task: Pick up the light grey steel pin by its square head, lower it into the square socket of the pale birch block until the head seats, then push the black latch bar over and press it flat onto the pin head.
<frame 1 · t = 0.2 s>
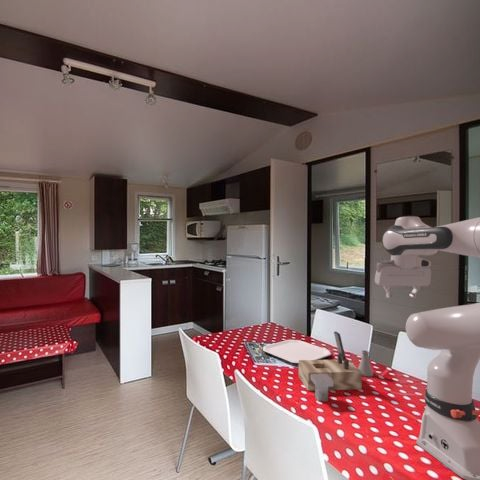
hand: (400, 297, 117), 39 cm above the table, tool pointing down, fingers open, 8 cm apart
plate: (296, 354, 165), on the table
flask: (364, 374, 142), on the table
socket block: (328, 382, 132), on the table
steel pin: (321, 398, 118), on the table
latch bar: (339, 346, 132), point 15 cm above the table, hinge at 75.0°
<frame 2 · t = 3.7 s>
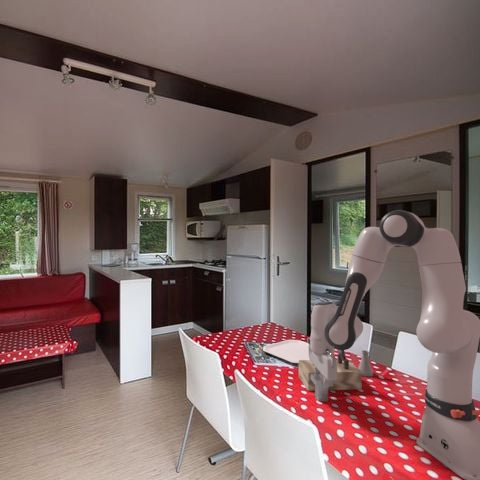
hand: (321, 382, 118), 6 cm above the table, tool pointing down, fingers closed on steel pin, 6 cm apart
steel pin: (321, 398, 118), on the table, touching gripper
everything else where it was.
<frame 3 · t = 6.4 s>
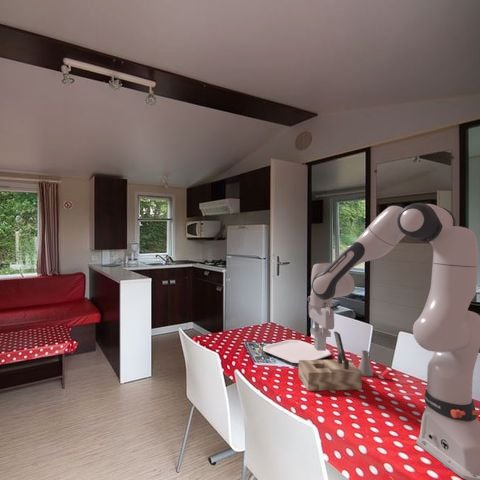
hand: (320, 334, 131), 20 cm above the table, tool pointing down, fingers closed on steel pin, 6 cm apart
steel pin: (319, 349, 131), point 14 cm above the table, touching gripper
everything else where it was.
when the fingers open (8 cm above the table, at t = 9.2 s): steel pin stays where it is, resting on socket block.
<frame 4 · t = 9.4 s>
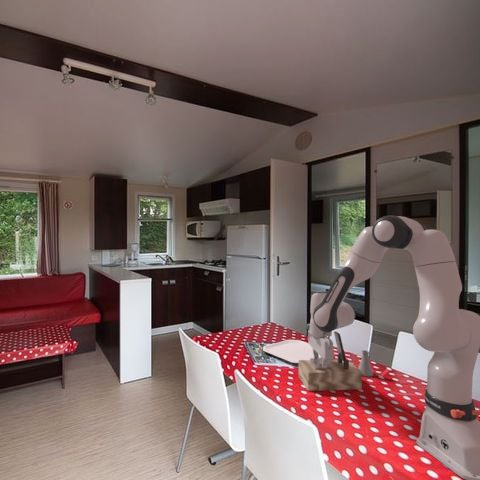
hand: (319, 363, 131), 8 cm above the table, tool pointing down, fingers open, 8 cm apart
steel pin: (319, 380, 131), point 1 cm above the table, touching socket block
everything else where it was.
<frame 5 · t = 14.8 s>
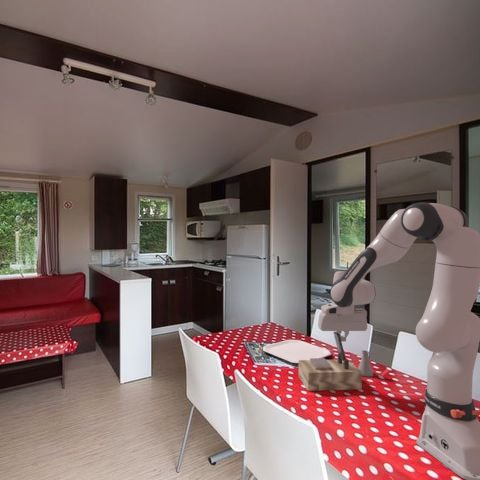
hand: (342, 341, 133), 17 cm above the table, tool pointing down, fingers closed
latch bar: (339, 346, 132), point 15 cm above the table, hinge at 74.0°, touching gripper
everything else where it was.
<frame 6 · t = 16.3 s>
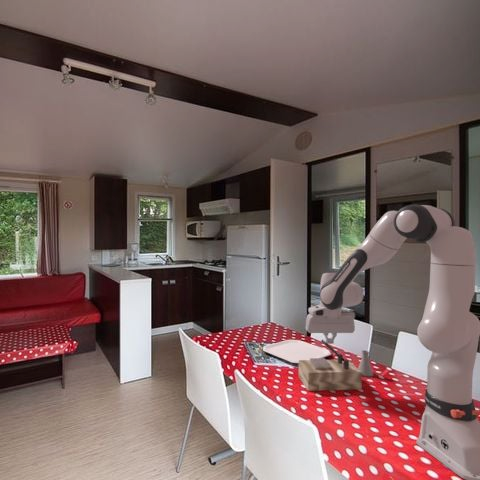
hand: (329, 343, 132), 16 cm above the table, tool pointing down, fingers closed
latch bar: (333, 350, 132), point 13 cm above the table, hinge at 40.7°, touching gripper
everything else where it was.
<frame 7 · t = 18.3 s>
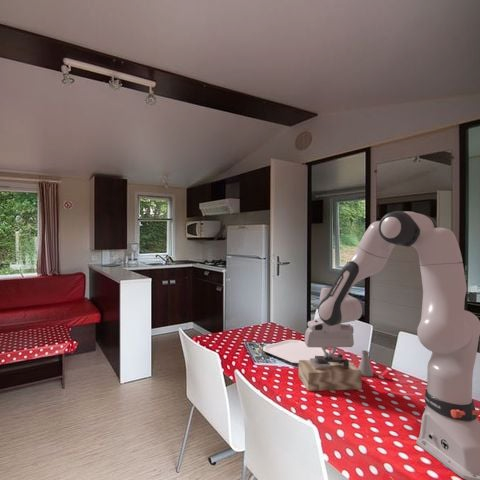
hand: (328, 357, 132), 10 cm above the table, tool pointing down, fingers closed
latch bar: (329, 359, 132), point 10 cm above the table, hinge at 2.7°
everything else where it was.
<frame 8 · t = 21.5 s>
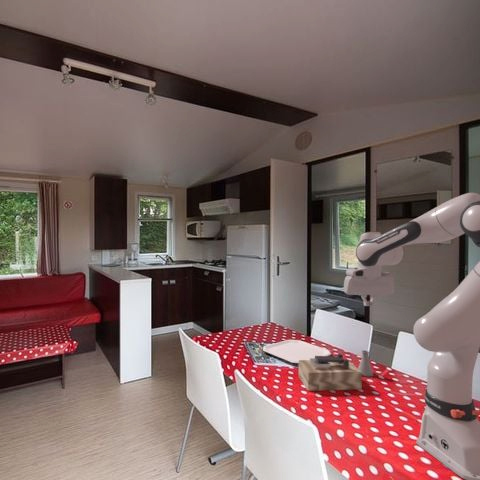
hand: (368, 305, 128), 33 cm above the table, tool pointing down, fingers closed
nothing on the table moved.
at the end: steel pin 0.0 cm from the target spot on the socket block, point 1.0 cm above the socket block's base; latch bar at +3° (first picture: +75°); steel pin tilted 0° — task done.
